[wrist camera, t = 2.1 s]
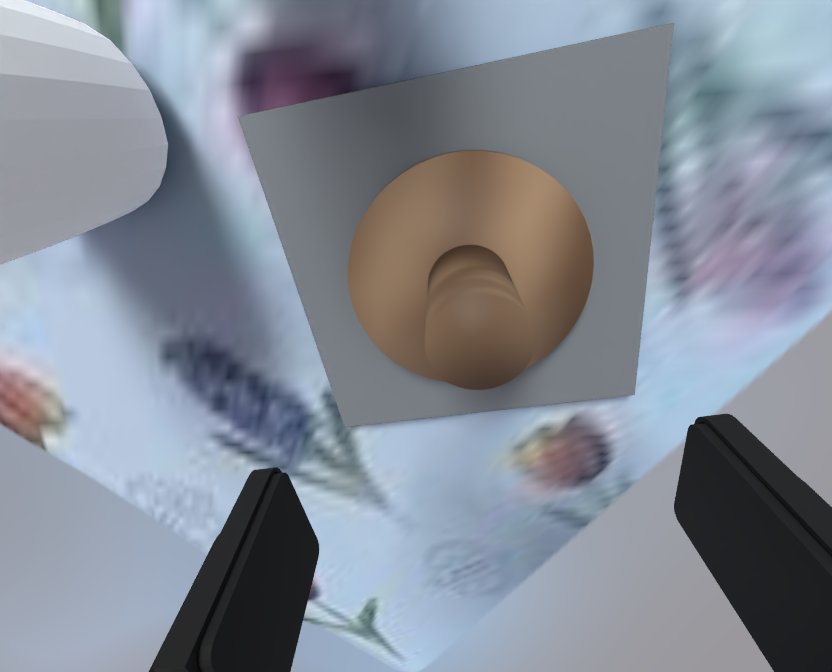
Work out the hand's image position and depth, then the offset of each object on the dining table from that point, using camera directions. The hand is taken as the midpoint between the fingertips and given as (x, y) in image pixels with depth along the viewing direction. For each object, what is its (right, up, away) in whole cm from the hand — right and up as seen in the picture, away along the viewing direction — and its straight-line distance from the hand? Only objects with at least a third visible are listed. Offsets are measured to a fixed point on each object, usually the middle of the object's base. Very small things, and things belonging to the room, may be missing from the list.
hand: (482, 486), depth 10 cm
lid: (+1, +7, +11) cm, 13 cm away
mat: (+1, +7, +12) cm, 14 cm away
